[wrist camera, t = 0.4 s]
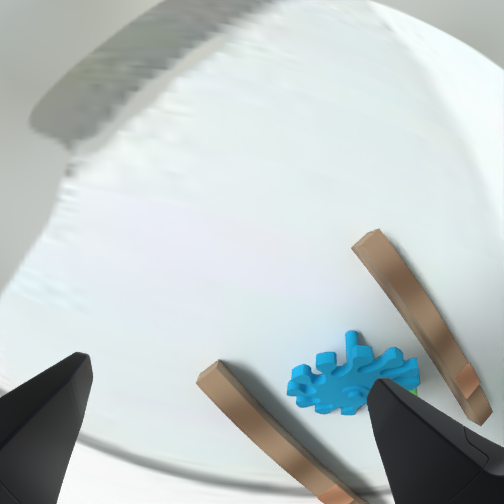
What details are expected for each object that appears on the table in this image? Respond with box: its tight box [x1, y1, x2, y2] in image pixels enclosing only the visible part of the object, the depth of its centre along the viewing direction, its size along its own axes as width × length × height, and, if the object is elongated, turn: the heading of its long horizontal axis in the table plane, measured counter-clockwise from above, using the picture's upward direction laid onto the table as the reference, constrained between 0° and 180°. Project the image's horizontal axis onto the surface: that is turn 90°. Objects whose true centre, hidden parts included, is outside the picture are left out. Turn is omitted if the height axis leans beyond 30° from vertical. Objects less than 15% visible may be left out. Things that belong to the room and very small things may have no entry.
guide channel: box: [196, 229, 493, 504], centre depth 22 cm, size 24×18×3 cm
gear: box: [287, 330, 420, 415], centre depth 22 cm, size 11×6×10 cm
